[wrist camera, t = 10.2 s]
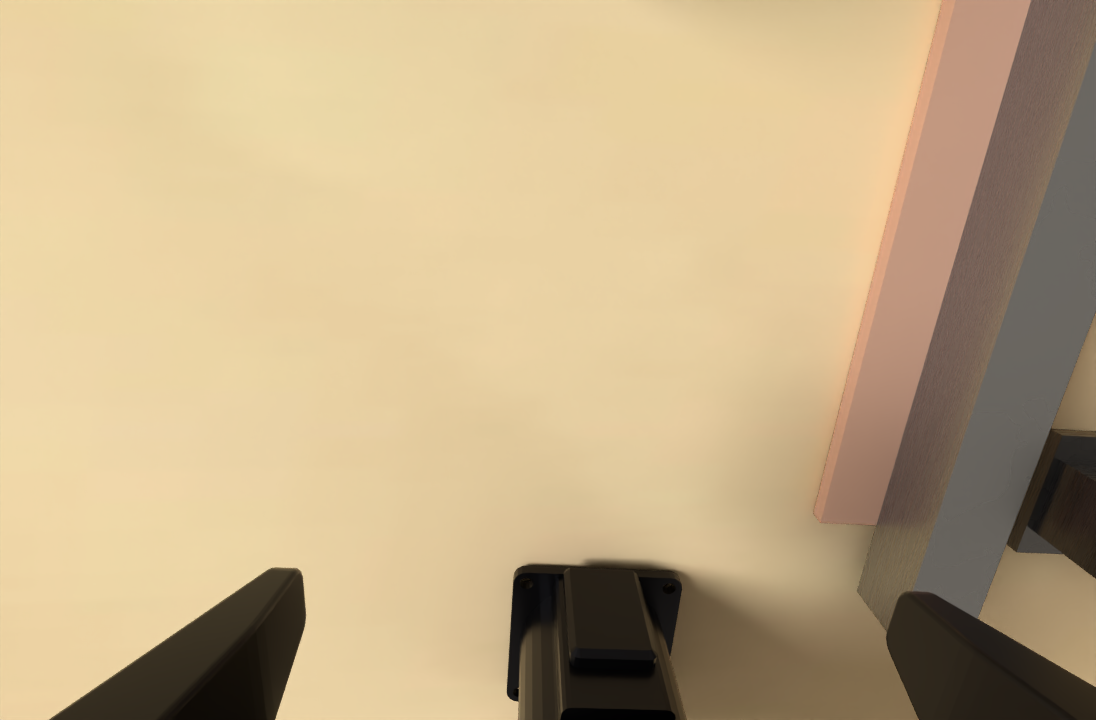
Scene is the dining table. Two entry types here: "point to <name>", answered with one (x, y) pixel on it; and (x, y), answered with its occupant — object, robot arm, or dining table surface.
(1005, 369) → the rail
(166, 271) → the dining table surface
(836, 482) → the mat
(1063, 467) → the post
